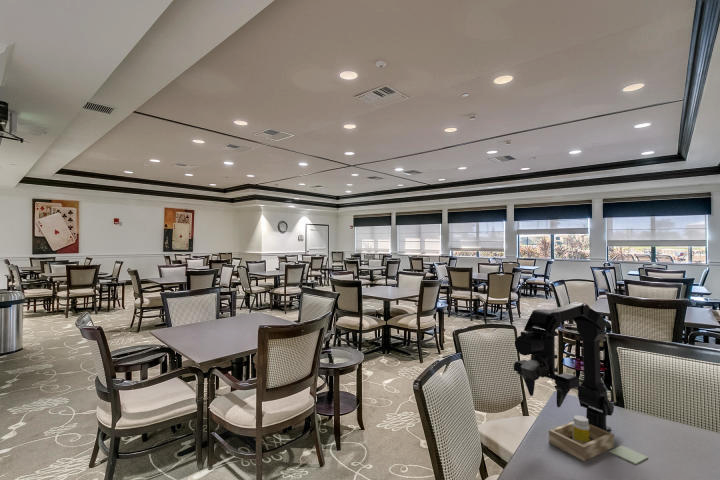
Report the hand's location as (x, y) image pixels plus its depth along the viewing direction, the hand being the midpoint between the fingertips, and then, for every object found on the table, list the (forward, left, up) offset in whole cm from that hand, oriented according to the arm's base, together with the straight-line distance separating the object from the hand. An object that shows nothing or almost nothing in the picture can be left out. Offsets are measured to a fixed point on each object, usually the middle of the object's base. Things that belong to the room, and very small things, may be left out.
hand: (544, 401), depth 111 cm
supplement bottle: (-12, +4, -15) cm, 20 cm away
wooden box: (-12, +4, -15) cm, 20 cm away
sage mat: (-19, +14, -15) cm, 28 cm away
